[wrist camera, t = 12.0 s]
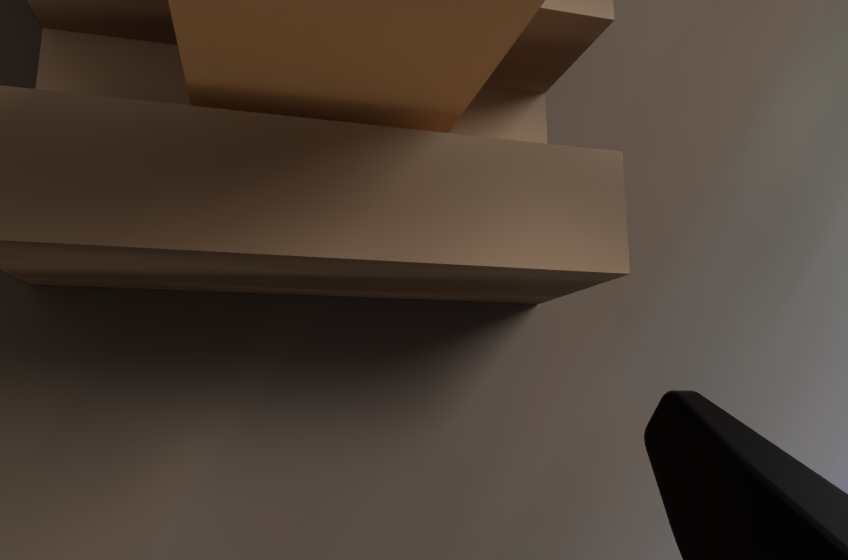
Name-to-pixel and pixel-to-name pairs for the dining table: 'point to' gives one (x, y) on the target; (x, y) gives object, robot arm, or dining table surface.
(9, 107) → the rack
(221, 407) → the dining table surface
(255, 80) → the rectangular block
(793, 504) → the robot arm
